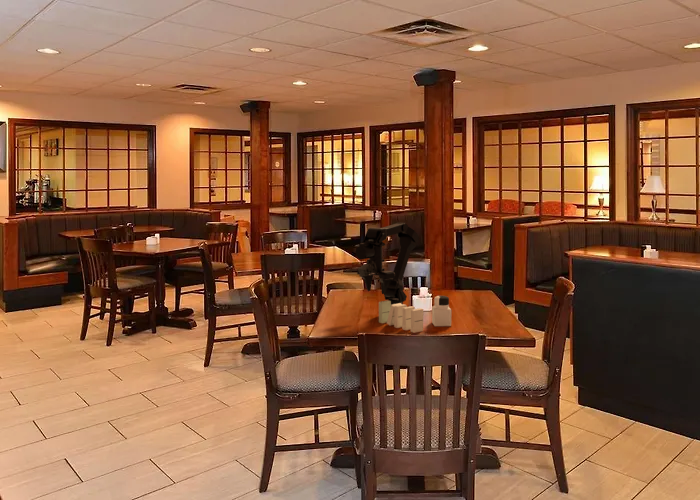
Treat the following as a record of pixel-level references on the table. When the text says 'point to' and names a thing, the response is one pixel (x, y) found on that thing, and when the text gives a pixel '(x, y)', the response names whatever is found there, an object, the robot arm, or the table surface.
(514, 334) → the table surface
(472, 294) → the table surface
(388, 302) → the sage domino
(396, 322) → the domino
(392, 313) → the domino
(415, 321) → the domino
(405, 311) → the domino
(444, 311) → the medicine bottle
